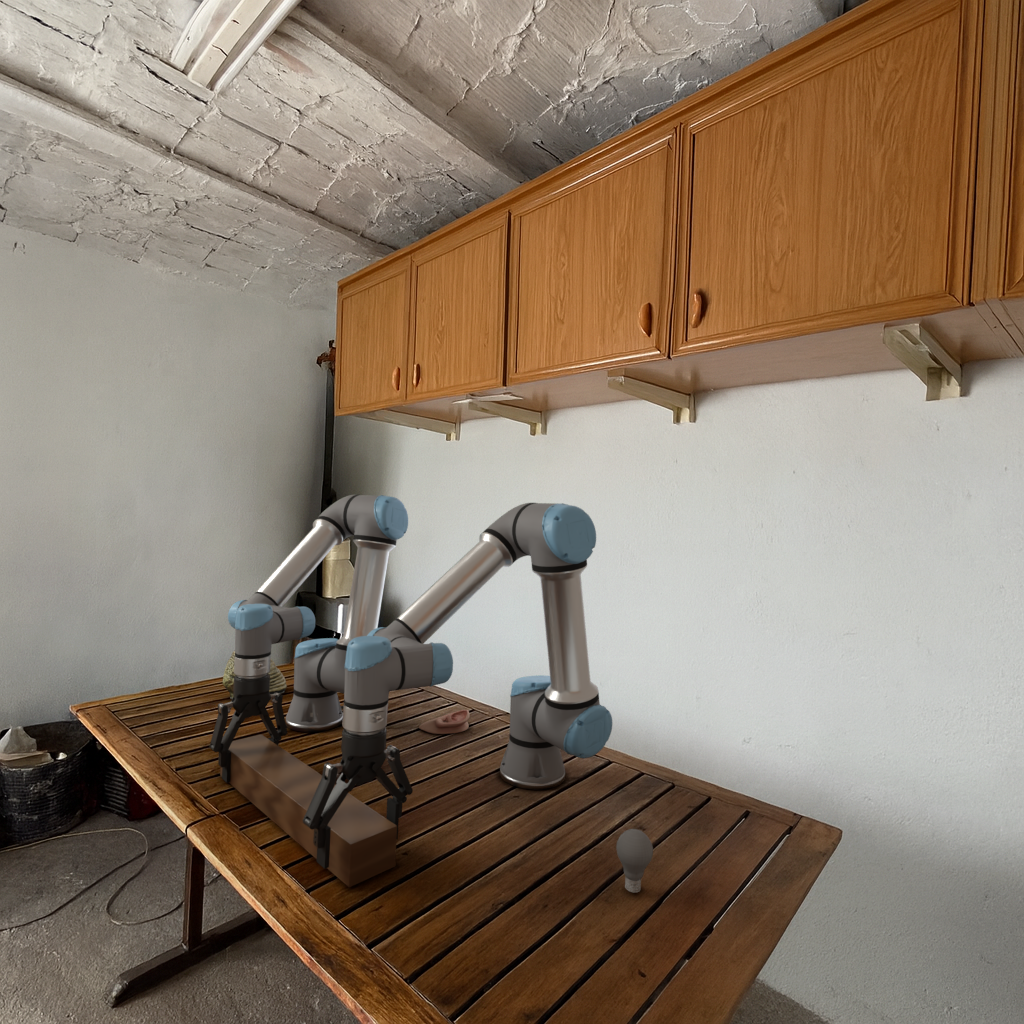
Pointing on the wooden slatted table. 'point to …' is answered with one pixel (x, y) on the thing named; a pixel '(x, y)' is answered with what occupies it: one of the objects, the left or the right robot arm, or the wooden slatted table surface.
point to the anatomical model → (447, 723)
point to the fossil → (275, 675)
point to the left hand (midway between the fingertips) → (248, 773)
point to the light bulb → (634, 857)
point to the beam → (285, 800)
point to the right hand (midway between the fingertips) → (358, 850)
